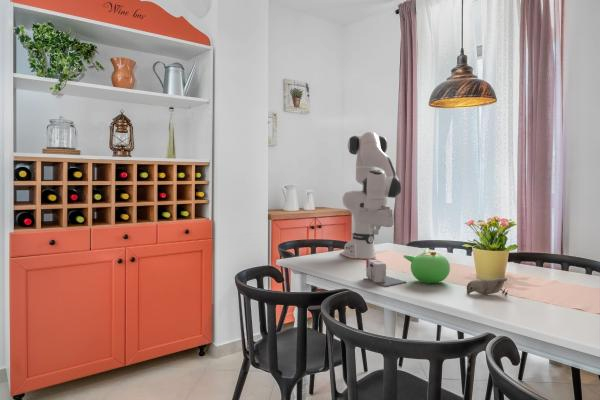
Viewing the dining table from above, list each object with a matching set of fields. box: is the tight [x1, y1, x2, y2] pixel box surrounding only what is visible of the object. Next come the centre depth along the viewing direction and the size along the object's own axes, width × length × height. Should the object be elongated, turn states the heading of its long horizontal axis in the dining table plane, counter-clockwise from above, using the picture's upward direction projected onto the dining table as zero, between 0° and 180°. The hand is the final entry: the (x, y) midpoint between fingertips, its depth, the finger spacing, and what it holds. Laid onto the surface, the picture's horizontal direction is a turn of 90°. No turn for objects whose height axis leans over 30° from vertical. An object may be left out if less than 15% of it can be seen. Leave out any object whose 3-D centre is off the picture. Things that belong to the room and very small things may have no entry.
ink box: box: [365, 258, 387, 283], centre depth 194 cm, size 8×5×12 cm
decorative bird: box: [466, 277, 509, 297], centre depth 174 cm, size 5×16×8 cm, turn 84°
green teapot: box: [403, 248, 451, 284], centre depth 193 cm, size 18×17×15 cm
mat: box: [363, 275, 407, 288], centre depth 194 cm, size 14×13×1 cm
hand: (374, 234), depth 199 cm, fingers closed
